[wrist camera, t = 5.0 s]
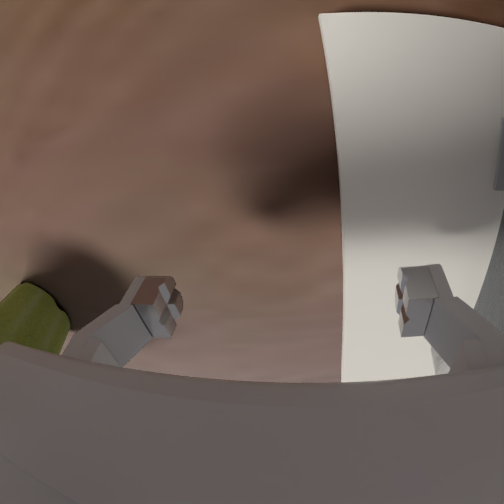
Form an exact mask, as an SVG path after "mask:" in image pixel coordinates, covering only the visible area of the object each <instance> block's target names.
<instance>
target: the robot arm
mask: <svg viewBox="0 0 504 504" xmlns="http://www.w3.org/2000/svg"><path fill="white" fill-rule="evenodd" d="M397 277H398V282H399V283H398V284H397V285H396V289H395V307H396V312H397V313H398V314H399V315H400V316H399V321H398V323H399V329H400V334H401V337H415V336H424V338H425V339H426V340H427V341H428V343H429V344H430V345H431V346H432V347H433V348H434V350H435V351H436V352H437V353H438V354H439V356H440V357H441V358H442V359H443V360H444V362H445V363H446V364H447V365H448V366H449V368H450V370H449V372H448V373H447V374H440V375H432V376H423V377H414V378H403V379H391V380H378V381H360V382H334V383H278V382H252V381H235V380H221V379H209V378H198V377H188V376H179V375H171V374H163V373H155V372H148V371H141V370H135V369H129V368H123V366H124V365H125V364H127V363H128V362H129V361H130V360H131V359H132V358H133V357H134V356H135V355H136V354H137V353H138V352H139V351H140V350H141V349H142V348H143V347H144V346H145V345H146V344H147V343H148V342H149V341H150V340H151V339H152V337H162V338H171V337H172V335H173V332H174V330H175V327H176V325H177V324H176V322H175V320H176V319H177V318H178V317H180V315H181V313H182V310H183V299H182V296H181V293H180V292H179V291H178V290H176V289H175V286H176V282H175V280H174V278H173V277H171V276H137V277H136V278H135V279H134V280H133V282H132V284H131V285H130V287H129V288H128V290H127V292H126V293H125V295H124V297H123V298H122V300H121V302H120V303H119V304H116V305H114V306H113V307H111V308H110V309H108V310H107V311H106V312H104V313H103V314H101V315H100V316H99V317H97V318H96V319H94V320H93V321H92V322H90V323H89V324H87V325H86V326H85V327H83V328H82V329H80V330H79V331H78V332H76V333H75V334H74V335H73V337H72V338H71V340H70V342H69V343H68V345H67V347H66V349H65V350H64V352H63V354H62V355H59V354H54V353H50V352H46V351H42V350H38V349H35V348H31V347H27V346H24V345H20V344H17V343H14V342H5V343H3V344H1V345H0V504H504V335H503V333H502V332H500V331H499V330H498V329H497V328H496V327H494V326H493V325H492V324H491V323H490V322H488V321H487V320H486V319H485V318H484V317H482V316H481V315H480V314H479V313H477V312H476V311H475V310H474V309H473V308H471V307H470V306H469V305H468V304H466V303H465V302H464V301H462V300H461V299H460V298H459V297H457V296H456V297H454V296H453V294H452V291H451V288H450V286H449V283H448V281H447V278H446V276H445V273H444V271H443V268H442V266H441V265H440V264H430V265H421V266H406V267H399V269H398V274H397Z"/></svg>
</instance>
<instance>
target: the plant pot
mask: <svg viewBox="0 0 504 504" xmlns="http://www.w3.org/2000/svg"><path fill="white" fill-rule="evenodd" d="M69 329H70V321H69V318H68V316H67V315H66V313H65V312H64V311H61V310H60V309H59V308H58V307H57V305H56V303H55V301H54V299H53V298H52V297H51V296H50V295H49V294H48V293H46V292H45V291H43V290H42V289H40V288H39V287H37V286H35V285H33V284H30V283H23V284H20V285H17V286H16V287H15V288H14V289H13V290H12V291H11V292H10V293H9V294H8V295H7V296H6V297H5V298H4V299H3V300H2V301H1V302H0V345H1V344H3V343H5V342H14V343H17V344H20V345H24V346H27V347H31V348H35V349H38V350H42V351H46V352H50V353H54V354H59V353H60V351H61V349H62V346H63V344H64V341H65V339H66V336H67V334H68V332H69Z"/></svg>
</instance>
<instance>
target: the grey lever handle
mask: <svg viewBox="0 0 504 504" xmlns="http://www.w3.org/2000/svg"><path fill="white" fill-rule="evenodd" d="M474 310H475V311H476V312H477V313H479V314H480V315H481V316H482V317H484V318H485V319H486V320H487V321H488V322H490V323H491V324H492V325H493V326H494V327H496V328H497V329H498V330H499V331H500V332H502V333H503V335H504V209H503V214H502V218H501V223H500V227H499V231H498V235H497V239H496V242H495V246H494V250H493V253H492V257H491V260H490V263H489V266H488V270H487V273H486V276H485V279H484V282H483V285H482V288H481V291H480V293H479V296H478V299H477V302H476V304H475V307H474ZM431 355H432V360H433V365H434V370H435V375H440V374H447V373H448V372H449V370H450V368H449V366H448V365H447V364H446V363H445V362H444V360H443V359H442V358H441V357H440V356H439V354H438V353H437V352H436V351H435V350H434V348H433V347H432V346H431Z"/></svg>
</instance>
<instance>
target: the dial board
mask: <svg viewBox="0 0 504 504" xmlns="http://www.w3.org/2000/svg"><path fill="white" fill-rule="evenodd" d="M318 19H319V24H320V30H321V35H322V41H323V47H324V53H325V59H326V66H327V72H328V79H329V86H330V94H331V102H332V110H333V119H334V128H335V137H336V148H337V159H338V171H339V185H340V201H341V221H342V248H343V335H342V362H341V382H360V381H377V380H391V379H402V378H413V377H422V376H431V375H435V370H434V365H433V360H432V355H431V345H430V344H429V343H428V341H427V340H426V339H425V338H424V336H415V337H401V334H400V329H399V323H398V321H399V316H400V315H399V314H398V313H397V312H396V307H395V289H396V285H397V284H398V283H399V282H398V277H397V274H398V269H399V267H406V266H421V265H430V264H440V265H441V266H442V268H443V271H444V273H445V276H446V278H447V281H448V283H449V286H450V288H451V291H452V294H453V296H454V297H456V296H457V297H459V298H460V299H461V300H462V301H464V302H465V303H466V304H468V305H469V306H470V307H471V308H473V309H474V307H475V304H476V302H477V299H478V296H479V293H480V291H481V288H482V285H483V282H484V279H485V276H486V273H487V270H488V266H489V263H490V260H491V257H492V253H493V250H494V246H495V242H496V239H497V235H498V231H499V227H500V223H501V218H502V214H503V209H504V28H502V27H497V26H493V25H489V24H484V23H479V22H473V21H468V20H462V19H456V18H449V17H441V16H432V15H422V14H410V13H391V12H344V13H325V14H319V16H318Z"/></svg>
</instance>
